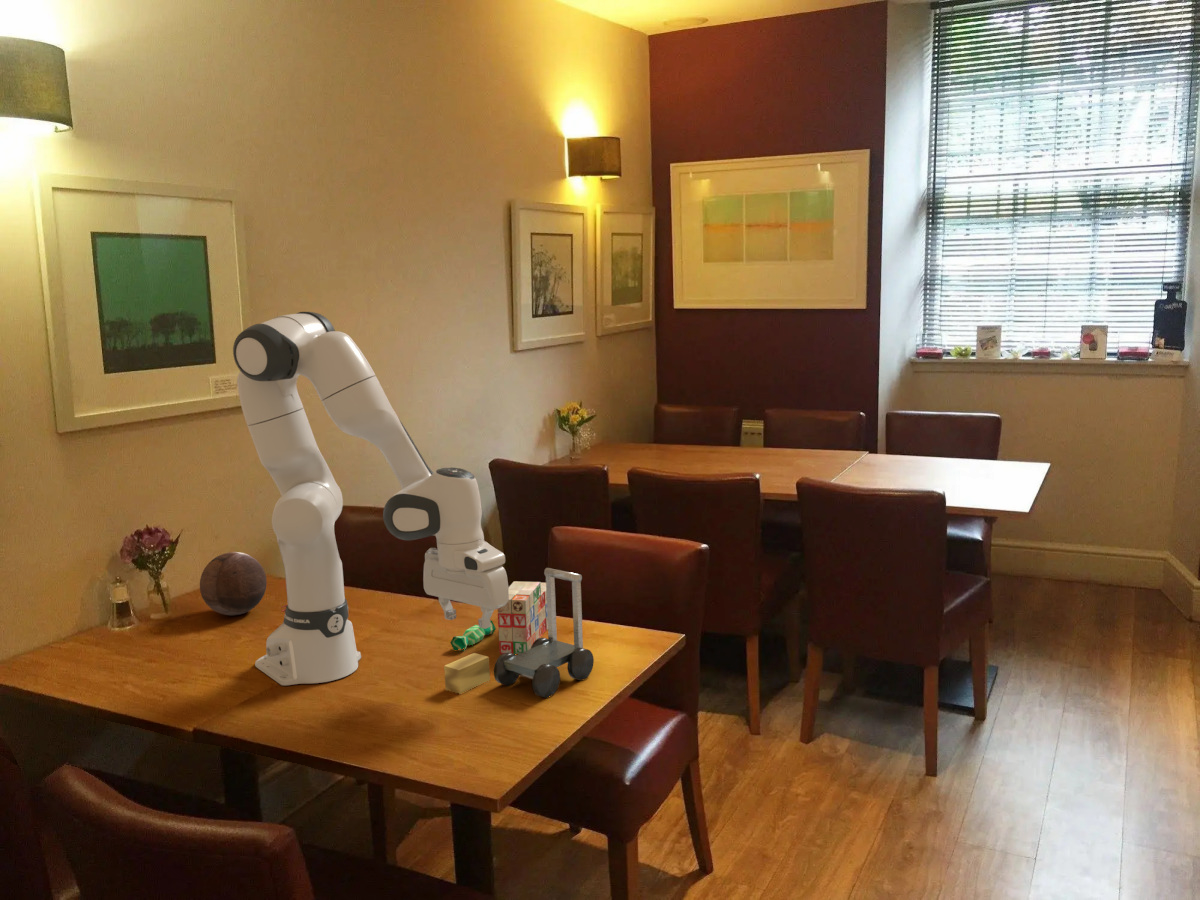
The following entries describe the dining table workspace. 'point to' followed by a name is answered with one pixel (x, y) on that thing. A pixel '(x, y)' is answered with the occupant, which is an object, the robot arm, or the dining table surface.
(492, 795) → the dining table surface
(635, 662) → the dining table surface
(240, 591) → the wooden sphere
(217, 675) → the dining table surface
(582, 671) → the trolley
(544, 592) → the stack of blocks
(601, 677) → the dining table surface
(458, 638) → the candy
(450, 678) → the block
